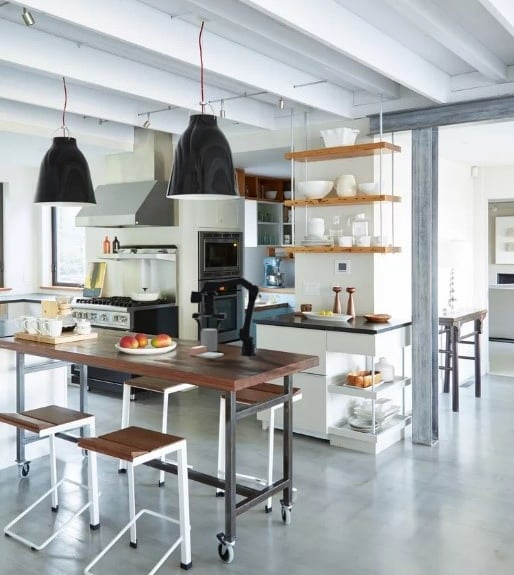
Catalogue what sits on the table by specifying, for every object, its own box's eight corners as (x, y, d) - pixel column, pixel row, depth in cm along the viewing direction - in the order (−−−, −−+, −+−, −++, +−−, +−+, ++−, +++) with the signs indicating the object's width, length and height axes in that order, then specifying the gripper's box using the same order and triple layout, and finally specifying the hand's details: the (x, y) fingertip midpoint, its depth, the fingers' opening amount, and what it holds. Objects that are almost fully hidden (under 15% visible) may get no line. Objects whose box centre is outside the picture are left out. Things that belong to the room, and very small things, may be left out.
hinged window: (223, 355, 354) (223, 353, 354) (212, 358, 346) (212, 355, 346) (207, 353, 360) (207, 351, 360) (196, 356, 351) (196, 353, 351)
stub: (206, 353, 360) (206, 346, 360) (196, 356, 352) (196, 348, 351) (200, 352, 362) (200, 345, 362) (189, 355, 354) (189, 347, 354)
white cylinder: (209, 352, 365) (209, 331, 364) (197, 350, 371) (197, 329, 370) (220, 350, 373) (220, 329, 372) (208, 348, 378) (208, 327, 377)
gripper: (228, 302, 364) (229, 329, 365) (197, 301, 367) (197, 328, 368) (224, 304, 353) (224, 332, 354) (191, 303, 356) (191, 331, 357)
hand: (209, 331), depth 359 cm, fingers open, 9 cm apart
